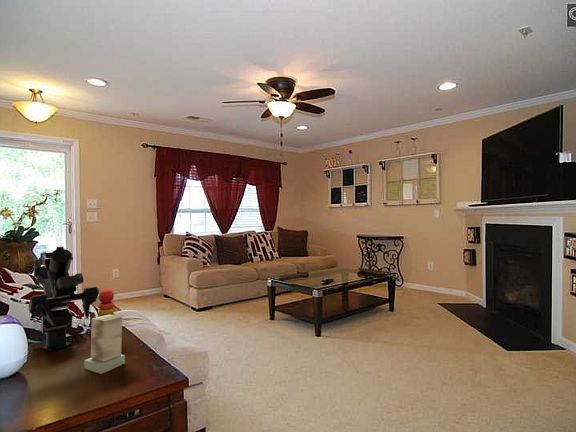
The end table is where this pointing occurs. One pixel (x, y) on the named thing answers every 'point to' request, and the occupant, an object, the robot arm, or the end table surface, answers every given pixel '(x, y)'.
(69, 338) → the end table surface
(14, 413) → the end table surface
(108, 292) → the stacking toy
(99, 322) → the birch pillar
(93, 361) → the sage block
